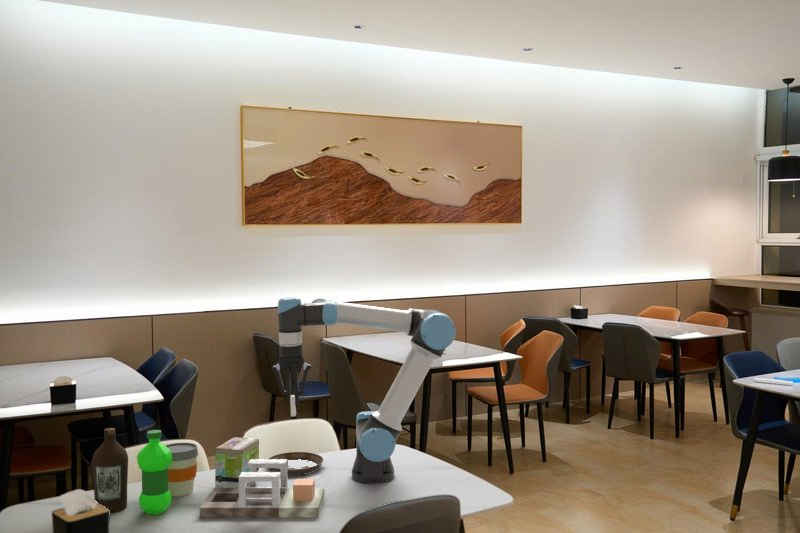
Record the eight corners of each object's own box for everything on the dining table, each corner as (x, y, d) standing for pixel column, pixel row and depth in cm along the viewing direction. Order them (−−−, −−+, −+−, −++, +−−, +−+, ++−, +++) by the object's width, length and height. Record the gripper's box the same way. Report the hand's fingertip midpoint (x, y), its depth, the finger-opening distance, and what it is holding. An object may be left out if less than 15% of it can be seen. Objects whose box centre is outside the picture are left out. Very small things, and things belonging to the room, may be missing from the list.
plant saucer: (320, 477, 268) (319, 468, 268) (261, 477, 268) (261, 468, 268) (326, 460, 289) (326, 451, 288) (272, 460, 289) (272, 451, 289)
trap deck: (324, 497, 247) (324, 487, 247) (318, 517, 229) (318, 507, 229) (214, 497, 247) (214, 488, 247) (199, 517, 229) (199, 507, 229)
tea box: (242, 493, 251) (242, 449, 250) (214, 491, 253) (213, 447, 252) (259, 479, 266) (259, 437, 265) (233, 477, 268) (232, 436, 267)
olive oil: (95, 503, 242) (94, 426, 241) (131, 500, 244) (129, 424, 243) (90, 515, 231) (88, 434, 230) (126, 512, 234) (125, 432, 233)
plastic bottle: (139, 519, 228) (138, 437, 227) (137, 508, 237) (135, 429, 236) (174, 514, 232) (173, 433, 231) (170, 503, 241) (169, 426, 240)
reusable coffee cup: (206, 488, 256) (205, 444, 255) (181, 500, 244) (180, 454, 244) (177, 483, 261) (176, 440, 260) (151, 495, 249) (150, 450, 249)
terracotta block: (314, 494, 241) (314, 478, 241) (312, 501, 235) (312, 485, 235) (295, 494, 241) (295, 478, 241) (293, 501, 235) (292, 485, 235)
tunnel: (287, 487, 247) (287, 459, 247) (278, 507, 229) (278, 476, 229) (250, 487, 247) (250, 459, 247) (239, 507, 229) (238, 476, 229)
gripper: (311, 342, 254) (313, 411, 255) (272, 343, 253) (274, 413, 254) (310, 345, 246) (312, 417, 247) (269, 347, 246) (272, 419, 247)
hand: (293, 415), depth 251 cm, fingers closed
